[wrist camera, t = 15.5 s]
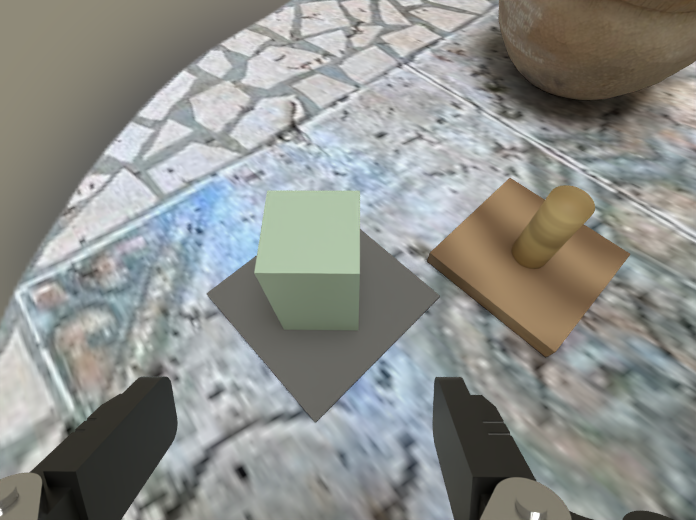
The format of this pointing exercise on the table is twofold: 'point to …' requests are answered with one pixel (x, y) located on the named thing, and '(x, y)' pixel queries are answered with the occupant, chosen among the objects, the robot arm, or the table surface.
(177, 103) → the table surface
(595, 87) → the ceramic bowl
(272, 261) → the sage green tall block
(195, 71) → the table surface
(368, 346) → the mat
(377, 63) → the table surface
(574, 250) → the peg stand
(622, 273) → the table surface
